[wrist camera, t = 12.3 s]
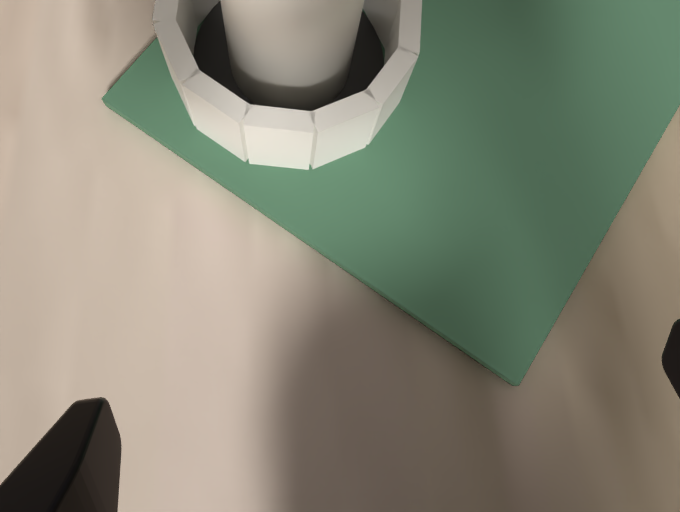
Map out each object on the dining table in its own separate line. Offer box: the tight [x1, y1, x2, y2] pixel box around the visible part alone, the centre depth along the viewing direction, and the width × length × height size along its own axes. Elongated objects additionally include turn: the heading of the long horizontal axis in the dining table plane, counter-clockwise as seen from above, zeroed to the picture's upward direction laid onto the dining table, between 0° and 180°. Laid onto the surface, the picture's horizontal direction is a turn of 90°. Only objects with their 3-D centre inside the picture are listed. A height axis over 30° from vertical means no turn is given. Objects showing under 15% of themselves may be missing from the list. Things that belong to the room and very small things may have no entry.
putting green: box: [102, 0, 680, 386], centre depth 24 cm, size 20×20×4 cm
